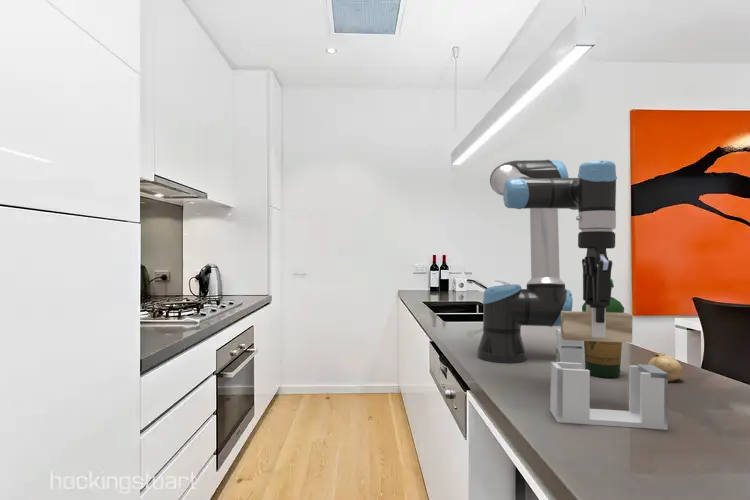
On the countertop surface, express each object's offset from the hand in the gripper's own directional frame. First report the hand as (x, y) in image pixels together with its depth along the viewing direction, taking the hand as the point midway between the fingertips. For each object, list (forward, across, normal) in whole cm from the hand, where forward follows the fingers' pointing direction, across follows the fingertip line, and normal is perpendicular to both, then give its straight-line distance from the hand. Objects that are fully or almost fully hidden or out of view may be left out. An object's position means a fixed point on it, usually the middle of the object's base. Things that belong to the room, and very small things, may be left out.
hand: (595, 335), depth 101 cm
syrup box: (+16, -12, -3) cm, 20 cm away
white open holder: (+15, +10, -1) cm, 18 cm away
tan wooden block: (+1, 0, 0) cm, 1 cm away
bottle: (+16, -26, +10) cm, 32 cm away
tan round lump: (+16, -25, +25) cm, 39 cm away
